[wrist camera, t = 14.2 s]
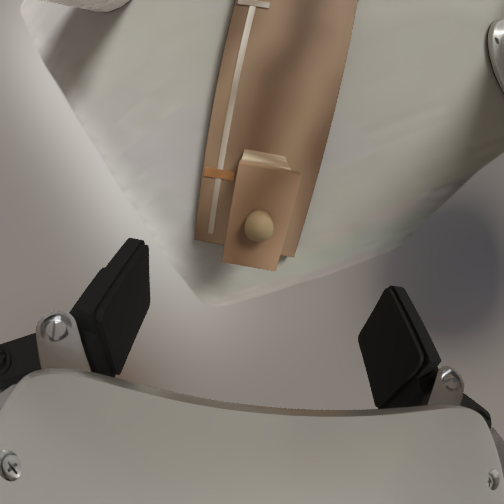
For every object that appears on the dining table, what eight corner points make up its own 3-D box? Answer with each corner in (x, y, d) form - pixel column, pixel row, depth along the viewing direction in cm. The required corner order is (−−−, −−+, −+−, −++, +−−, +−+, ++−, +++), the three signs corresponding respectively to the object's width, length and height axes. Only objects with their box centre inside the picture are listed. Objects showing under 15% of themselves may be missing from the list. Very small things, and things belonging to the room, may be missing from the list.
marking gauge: (286, 149, 23) (304, 181, 14) (271, 216, 26) (276, 280, 17) (246, 141, 23) (237, 167, 14) (233, 209, 26) (220, 270, 17)
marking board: (355, -9, 15) (360, -14, 14) (292, 249, 29) (294, 258, 28) (247, -34, 15) (247, -41, 13) (197, 232, 29) (194, 240, 27)
